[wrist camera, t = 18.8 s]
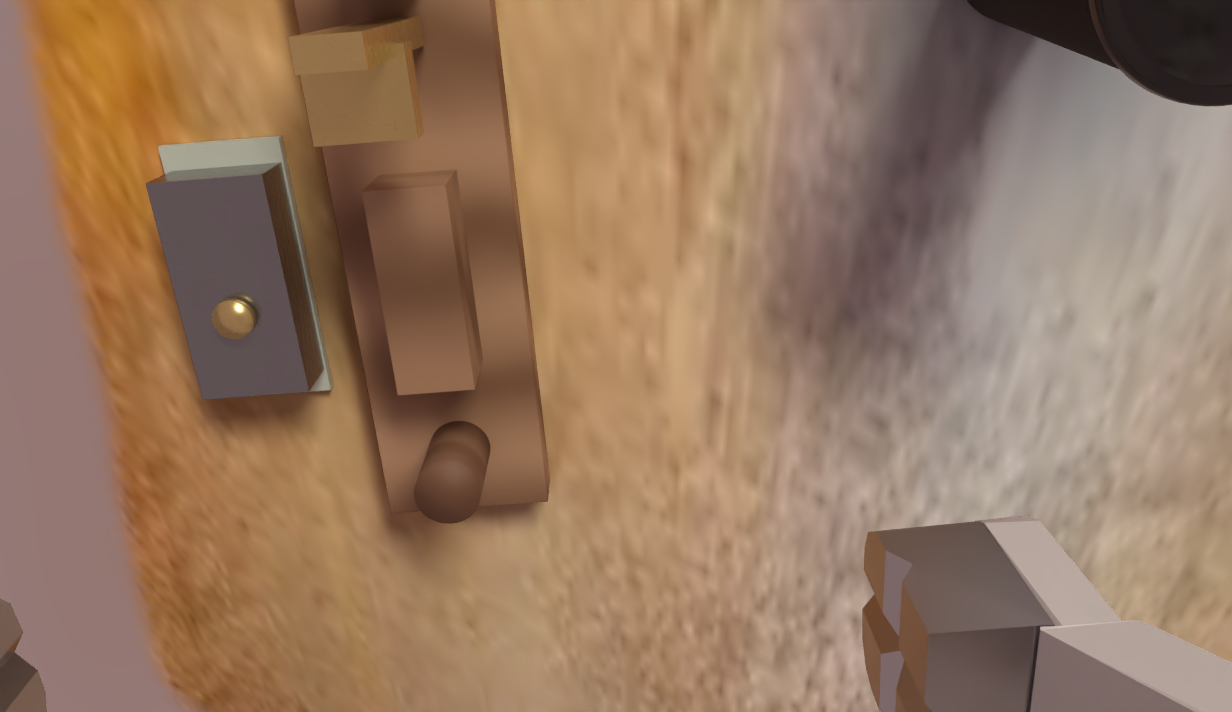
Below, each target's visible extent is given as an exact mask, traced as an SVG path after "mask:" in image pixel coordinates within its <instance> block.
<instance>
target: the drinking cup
mask: <svg viewBox="0 0 1232 712" xmlns="http://www.w3.org/2000/svg"><path fill="white" fill-rule="evenodd" d="M967 1H968V2H969V3H970V4H971V6H972V7H973V8H975V9H976V10H977V11H978V12H980V13H981V14H982V15H984V16H986V17H988V18H991V19H993V20H996V21H998V22H1001V23H1003V24H1006V25H1008V26H1011V27H1013V28H1016V29H1019V30H1021V31H1024V32H1026V33H1029V34H1031V35H1034V36H1036V37H1039V38H1041V39H1044V40H1046V41H1049V42H1052V43H1054V44H1057V45H1059V46H1062V47H1064V48H1067V49H1069V50H1072V51H1074V52H1077V53H1080V54H1082V55H1085V56H1087V57H1090V58H1092V59H1095V60H1097V61H1100V62H1102V63H1105V64H1107V65H1110V66H1113V67H1115V68H1118V69H1120V70H1121V71H1122V72H1123V73H1124V74H1125V75H1126V76H1127V77H1128V78H1129V79H1131V80H1132V81H1133V82H1135V83H1136V84H1137V85H1139V86H1140V87H1142V88H1144V89H1145V90H1147V91H1149V92H1151V93H1153V94H1155V95H1157V96H1160V97H1162V98H1166V99H1169V100H1172V101H1175V102H1179V103H1185V104H1190V105H1198V106H1225V105H1232V0H967Z"/></svg>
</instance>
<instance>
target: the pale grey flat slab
mask: <svg viewBox="0 0 1232 712" xmlns="http://www.w3.org/2000/svg"><path fill="white" fill-rule="evenodd" d="M158 149H159V153H160V157H161V161H162V165H163V169H164V173H165V174H167V173H169V172H171V171H178V170H191V169H204V168H216V167H229V166H241V165H254V164H266V163H279V162H281V164H282V168H283V173H284V178H285V183H286V188H287V192H288V197H289V202H290V207H291V211H292V216H293V221H294V226H295V231H296V235H297V240H298V245H299V250H300V255H301V259H302V264H303V269H304V274H305V279H306V283H307V288H308V293H309V298H310V303H311V307H312V312H313V317H314V322H315V327H316V331H317V336H318V341H319V346H320V351H321V355H322V360H323V365H324V370H323V372H322V373H321V375H320V376H319V378H318V379H317V381H316V382H315V383H314V385H313V386H312V388H311V389H310V391H309V392H312V391H325V390H331V389H332V387H333V384H332V379H331V374H330V369H329V365H328V360H327V355H326V350H325V345H324V340H323V335H322V331H321V326H320V321H319V316H318V311H317V306H316V301H315V296H314V292H313V287H312V282H311V277H310V272H309V267H308V262H307V258H306V253H305V248H304V243H303V238H302V233H301V228H300V223H299V219H298V214H297V209H296V204H295V199H294V194H293V189H292V185H291V180H290V175H289V170H288V165H287V160H286V155H285V150H284V146H283V141H282V136H271V137H259V138H246V139H233V140H221V141H208V142H195V143H183V144H170V145H161V146H159V147H158ZM298 393H299V392H298ZM285 394H286V393H285ZM272 395H273V394H272ZM259 396H260V395H259ZM246 397H247V396H246ZM233 398H234V397H233Z"/></svg>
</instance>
